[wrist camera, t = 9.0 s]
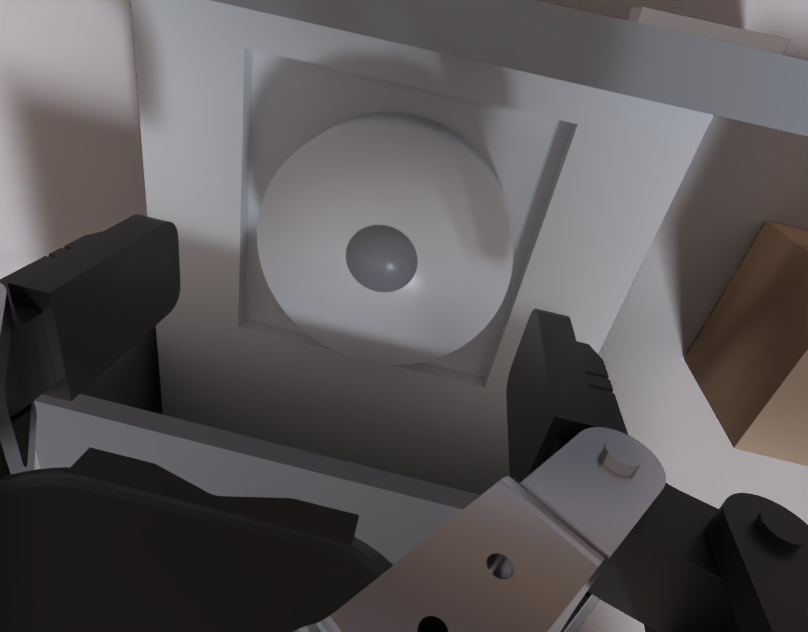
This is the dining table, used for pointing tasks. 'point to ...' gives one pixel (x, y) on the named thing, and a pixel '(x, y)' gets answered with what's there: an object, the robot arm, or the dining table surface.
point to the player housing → (240, 459)
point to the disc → (387, 239)
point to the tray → (479, 125)
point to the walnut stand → (761, 348)
